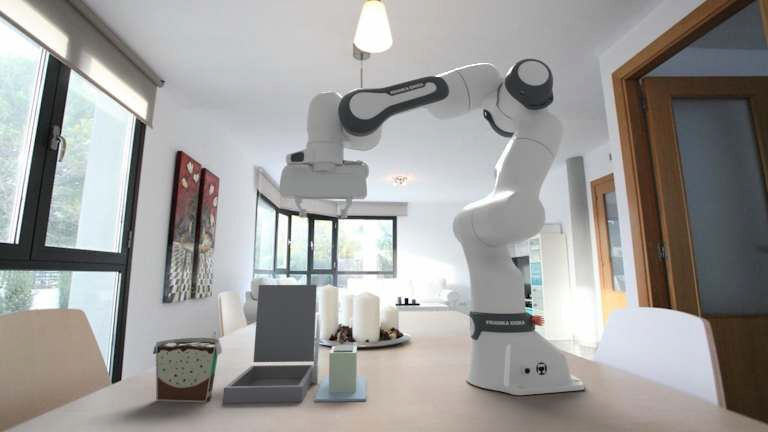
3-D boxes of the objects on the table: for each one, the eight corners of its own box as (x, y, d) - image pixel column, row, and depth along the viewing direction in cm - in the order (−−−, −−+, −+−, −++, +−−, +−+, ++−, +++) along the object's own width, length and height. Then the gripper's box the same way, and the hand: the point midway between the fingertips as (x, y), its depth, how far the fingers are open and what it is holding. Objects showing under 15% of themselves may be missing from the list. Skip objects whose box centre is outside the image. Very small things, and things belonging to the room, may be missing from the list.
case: (320, 375, 84) (322, 314, 86) (308, 401, 67) (311, 324, 69) (252, 376, 84) (255, 314, 86) (222, 403, 66) (227, 324, 68)
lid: (313, 361, 84) (314, 360, 85) (316, 284, 88) (317, 285, 89) (253, 362, 83) (255, 361, 84) (258, 284, 87) (260, 285, 88)
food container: (231, 392, 72) (234, 337, 74) (214, 402, 66) (218, 343, 68) (170, 390, 74) (175, 336, 75) (148, 400, 68) (153, 342, 69)
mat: (365, 378, 82) (365, 376, 82) (366, 400, 67) (366, 398, 67) (323, 378, 82) (323, 376, 82) (314, 401, 67) (314, 399, 67)
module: (356, 381, 78) (356, 344, 79) (355, 391, 71) (356, 351, 72) (332, 381, 78) (332, 344, 79) (328, 392, 71) (329, 351, 72)
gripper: (368, 164, 94) (368, 219, 92) (284, 163, 93) (282, 219, 91) (368, 156, 88) (368, 215, 86) (279, 155, 87) (276, 215, 85)
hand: (323, 217), depth 88 cm, fingers open, 8 cm apart
